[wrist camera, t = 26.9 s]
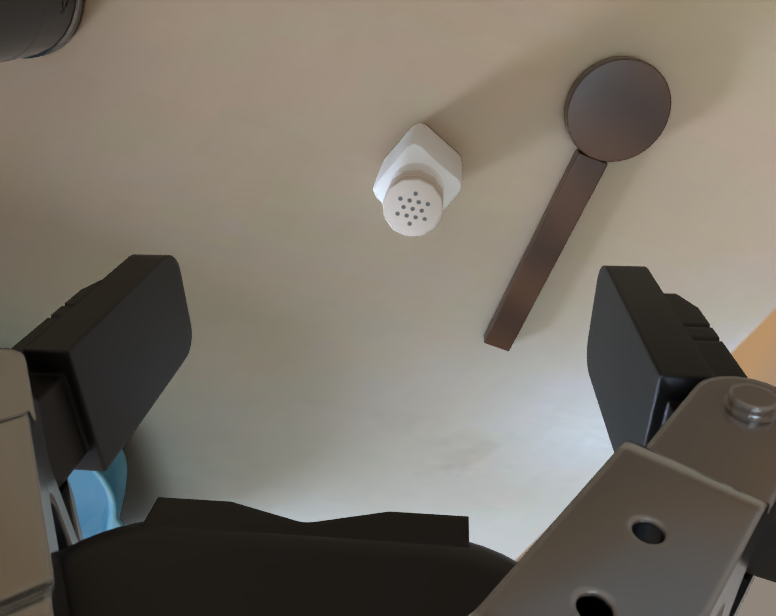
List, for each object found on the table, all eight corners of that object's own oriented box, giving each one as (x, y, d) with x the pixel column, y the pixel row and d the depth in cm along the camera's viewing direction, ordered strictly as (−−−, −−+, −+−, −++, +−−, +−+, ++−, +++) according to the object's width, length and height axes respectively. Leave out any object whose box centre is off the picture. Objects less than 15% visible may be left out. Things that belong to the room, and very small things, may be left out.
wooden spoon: (532, 353, 47) (534, 362, 46) (458, 327, 47) (458, 335, 45) (685, 77, 37) (692, 80, 36) (592, 40, 36) (596, 42, 35)
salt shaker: (465, 157, 40) (466, 206, 32) (424, 201, 42) (416, 258, 34) (419, 116, 39) (408, 155, 31) (379, 163, 41) (359, 211, 33)
